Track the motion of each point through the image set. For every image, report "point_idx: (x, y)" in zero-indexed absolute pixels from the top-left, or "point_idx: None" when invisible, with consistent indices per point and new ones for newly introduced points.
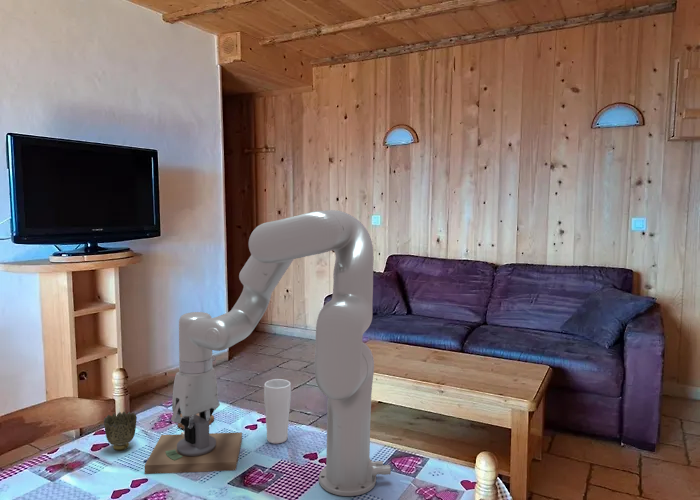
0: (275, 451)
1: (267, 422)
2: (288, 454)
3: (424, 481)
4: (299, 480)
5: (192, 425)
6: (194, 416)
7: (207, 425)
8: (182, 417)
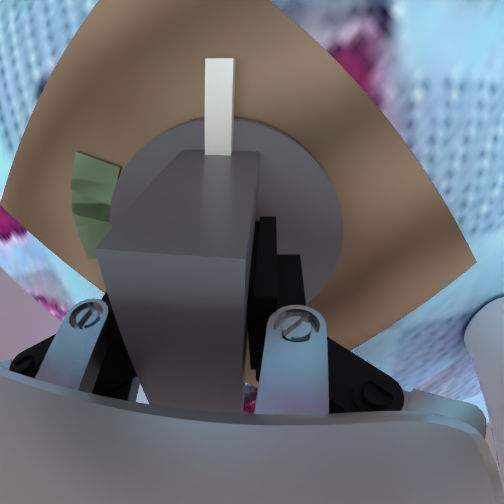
0: (424, 362)
1: (495, 377)
2: (419, 385)
3: None
4: None
5: (135, 378)
6: (198, 339)
7: None
8: (43, 360)
